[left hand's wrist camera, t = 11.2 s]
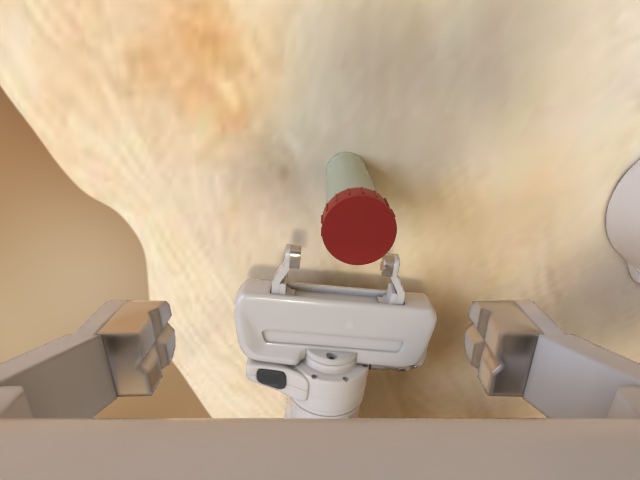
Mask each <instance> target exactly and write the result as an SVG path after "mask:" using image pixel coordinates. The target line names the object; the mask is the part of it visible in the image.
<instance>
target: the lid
mask: <svg viewBox="0 0 640 480" xmlns="http://www.w3.org/2000/svg"><path fill="white" fill-rule="evenodd" d="M321 223H322V227H321V236H322V238H323V242H324V244H325V246H326V248H327V250H328V251H329V252H330V253H331V254H332V255H333V256H334V257H335V258H336V259H338V260H340V261H342V262H344V263H347V264H352V265H364V264H369V263H372V262H374V261H376V260H378V259H380V258H381V257H383V256H384V255H385V254H386V253H387V252H388V251H389V250H390V248H391V247H392V245H393V243H394V241H395V238H396V233H397V226H396V220H395V215H394V213H393V211H392V209H390V207H389V204H388V202H387V200H386V198H383V197H382V196H381V195H380V194H378V193H377V192H376V191H375V190H374V191H373V190H370V189H367V188H363V187H361V188H360V187H358V188H350V189H349V188H347V189H346V190H344V191H341V192H340V193H338V194H335V196H334V197H333V198H332V199H331V200H330V201H329V202H328V203H326V207H325V209H324V212H323V215H321Z"/></svg>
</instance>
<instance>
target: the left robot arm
mask: <svg viewBox="0 0 640 480" xmlns="http://www.w3.org/2000/svg"><path fill="white" fill-rule="evenodd" d="M171 316H172V314H171V309H170V305H169V303H168V302H167V301H144V300H110V301H106V302H105V303H104V304H103V305H102V306H101V307H100V308H99V309H98V310H97V311H96V312H95V313H94V314H93V315H92V316H91V317H90V318H89V319H88V320H87V321H86V322H85V323H84V324H83V325H82V326H81V327H80V328H79V329H78V330H77V331H76V332H75V333H74V334H73V335H65V336H62V337H60V338H58V339H56V340H53V341H51V342H49V343H46V344H44V345H42V346H40V347H37V348H35V349H33V350H30V351H28V352H26V353H24V354H21V355H19V356H17V357H14V358H12V359H10V360H8V361H5V362H3V363H1V364H0V480H640V364H639V363H637V362H635V361H632V360H630V359H628V358H625V357H623V356H621V355H619V354H616V353H614V352H612V351H609V350H607V349H605V348H603V347H600V346H598V345H596V344H593V343H591V342H589V341H587V340H584V339H582V338H580V337H578V336H575V335H567V334H566V333H565V332H564V331H563V330H562V329H561V328H560V327H559V326H558V325H557V324H556V323H555V322H554V321H553V320H552V319H551V318H550V317H549V316H548V315H547V314H546V313H545V312H544V311H543V310H542V309H541V308H540V307H539V306H538V305H537V304H536V303H535V302H534V301H531V300H508V301H474V302H472V303H471V305H470V308H469V314H468V316H469V317H470V319H471V320H472V322H473V323H472V324H471V325H470V326H469V327H468V328H467V329H466V332H465V340H464V341H465V351H466V354H467V358H468V360H469V361H470V363H471V365H473V366H474V367H476V368H477V369H479V372H478V378H479V380H480V382H481V384H482V385H483V387H484V389H485V391H486V393H487V394H488V396H515V397H523V399H524V400H526V401H527V402H528V403H530V404H531V405H532V406H533V407H535V408H536V409H537V410H539V411H540V412H541V413H542V414H544V415H545V416H546V417H548V418H93V417H94V416H95V415H96V414H98V413H99V412H100V411H102V410H103V409H104V408H105V407H107V406H108V405H109V404H111V403H112V402H113V401H114V400H116V399H117V397H124V396H152V394H153V393H154V391H155V389H156V387H157V385H158V384H159V382H160V380H161V378H162V372H161V369H163V368H164V367H166V366H167V365H169V363H170V361H171V359H172V357H173V354H174V350H175V332H174V329H173V328H172V327H171V326H170V325H169V324H168V323H167V322H168V320H169V319H170V317H171Z"/></svg>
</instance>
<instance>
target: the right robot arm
mask: <svg viewBox="0 0 640 480" xmlns="http://www.w3.org/2000/svg"><path fill="white" fill-rule="evenodd" d="M606 231H607V235H608V238H609V241H610V243H611V245H612V246H613V248H614V249H615V250H616V251H617V252H618V253H619V254H620V255H621V256H622V257H623V258H624V259H625V260H626V262H627V264H628V269H629V273H630V276H631V278H632V279H633V281H635V282H637V283H639V284H640V160H638V161H637V162H636V163H635V164H634V165H633V166H632V167H631V168H630V169H629V170H628V171H627V173H626V174H625V175H624V176H623V178H622V179H621V180H620V182H619V183H618V185H617V187H616V188H615V190H614V192H613V194H612V196H611V199H610V202H609V205H608V208H607V213H606ZM300 258H301V246H297V245H286V250H285V259H284V261H283V262H282V263H281V265H280V266H279V267H278V269H277V270H276V271H275V273H274V277H273V280H263V279H252V278H250V279H247V280H246V281H245V282H244V283H243V284H242V285H241V286H240V288H239V290H238V292H237V295H236V298H235V323H236V331H237V337H238V342H239V345H240V348H241V350H242V351H243V353H244V354H245V355H246V356H248V358H247V365H246V376H247V378H248V379H249V380H250V381H252V382H255V383H258V384H261V385H264V386H267V387H270V388H272V389H275V390H277V391H280V392H282V393H284V394H286V395H288V396H289V400H288V402H287V405H286V409H285V418H359V410H358V408H359V407H360V405H361V403H362V401H363V398H364V392H365V387H366V381H367V376H368V370H369V369H374V370H397V371H399V372H407V371H409V370H410V369H412V368H416V367H418V366H421V365H422V364H423V363H424V361H425V358H426V354H427V349H428V343H429V341H430V339H431V336H432V334H433V331H434V328H435V325H436V322H437V314H436V311H435V308H434V306H433V304H432V303H431V301H430V300H429V298H428V297H427V296H426V295H425V294H423V293H414V292H404V289H403V286H402V283H401V281H400V278H399V276H398V270H399V265H400V259H399V256H398V254H389V253H386V254H385V255H384V256H383V257H382V261H381V264H380V269H381V271H382V272H381V273H382V276H389V277H391V280H392V282H393V283H388V287H387V290H379V289H368V288H356V287H344V286H333V285H321V284H310V283H298V282H288V274H287V273H288V271H289V270H290V269H291V268H299V266H300Z"/></svg>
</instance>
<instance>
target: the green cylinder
mask: <svg viewBox="0 0 640 480" xmlns="http://www.w3.org/2000/svg"><path fill="white" fill-rule="evenodd" d="M326 177H327V203H328V202H329V201H330V200H331V199H332V198H333V197H334V196H335V194H338V193H340V192H341V191H344V190H346V189H347V188H349V189H350V188H358V187H360V188H361V187H363V188H367V189H370V190H373V191H374V190H375V191H376V189H375V186H374V184H373V182H372V180H371V177H370V175H369V173H368V171H367V168H366V166H365V164H364V162H363V160H362V159H361V158H360V157H359V156H358V155H356V154H354V153H350V152H343V153H339V154H337V155H336V156H334V157H333V158H332V159H331V160H330V162H329V163H328V166H327V171H326ZM376 192H377V191H376Z"/></svg>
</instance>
